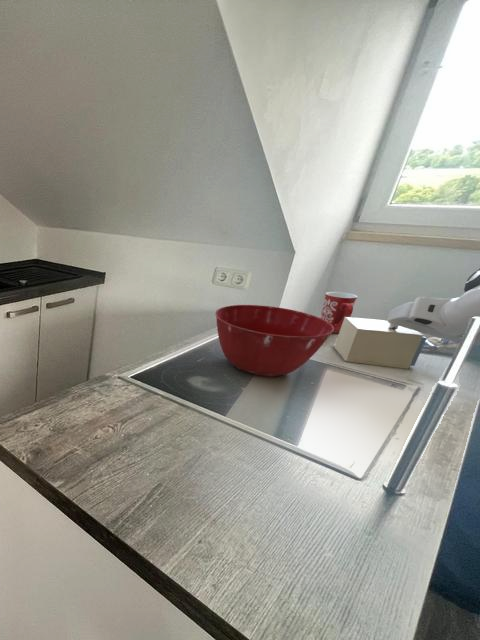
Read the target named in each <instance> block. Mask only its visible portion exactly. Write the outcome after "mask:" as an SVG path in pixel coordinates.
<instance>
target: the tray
mask: <svg viewBox="0 0 480 640" xmlns="http://www.w3.org/2000/svg"><path fill="white" fill-rule="evenodd" d="M423 349H428V350H430V352H435V351H437V350H438V346H436V345H435V344H434V343H432V342H431V341H429V340H428V339H427V337H426V336H425V335H423V337H422V340H421V342H420V344H419V346H418V349H417V351H416V353H415V355H414V358H413V360H412V362H411V364H410V366H409V367H411V366H412V367H415V365H416V363H417V361H418V359H419V356H420V354H421V352H422V350H423Z"/></svg>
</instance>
